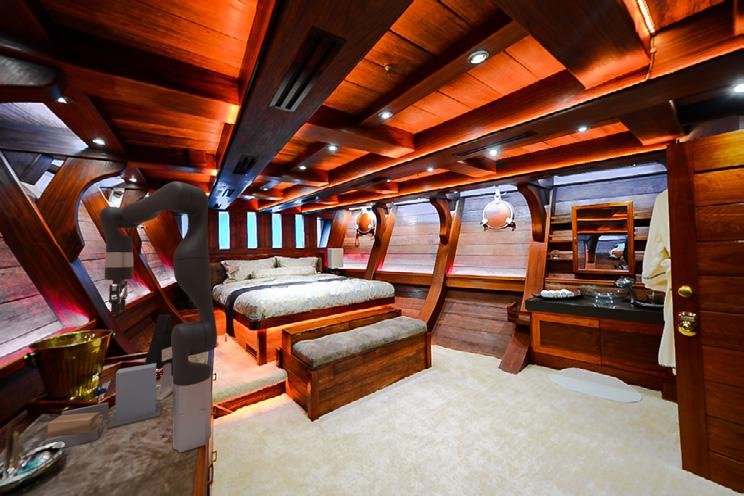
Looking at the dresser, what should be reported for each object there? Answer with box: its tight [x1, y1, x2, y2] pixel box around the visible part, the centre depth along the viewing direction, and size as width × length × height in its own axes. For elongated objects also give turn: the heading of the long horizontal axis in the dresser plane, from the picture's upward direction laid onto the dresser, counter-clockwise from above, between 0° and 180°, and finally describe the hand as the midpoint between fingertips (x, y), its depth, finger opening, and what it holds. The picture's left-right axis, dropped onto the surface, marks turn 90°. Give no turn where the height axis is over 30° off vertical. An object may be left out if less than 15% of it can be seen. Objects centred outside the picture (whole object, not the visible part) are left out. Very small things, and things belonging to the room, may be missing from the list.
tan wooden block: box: [44, 401, 109, 448], centre depth 88 cm, size 13×11×5 cm
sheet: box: [115, 363, 157, 421], centre depth 97 cm, size 4×10×15 cm, turn 122°
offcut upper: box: [47, 412, 100, 437], centre depth 84 cm, size 4×10×4 cm, turn 99°
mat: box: [106, 402, 163, 431], centre depth 97 cm, size 10×13×1 cm
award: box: [144, 314, 173, 401], centre depth 113 cm, size 15×5×30 cm, turn 168°
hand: (118, 312), depth 101 cm, fingers open, 8 cm apart
